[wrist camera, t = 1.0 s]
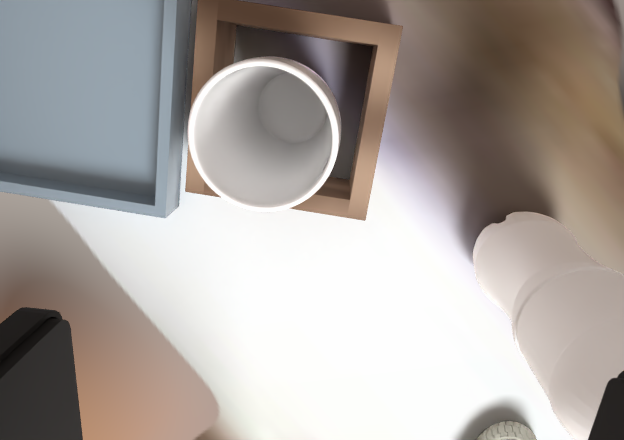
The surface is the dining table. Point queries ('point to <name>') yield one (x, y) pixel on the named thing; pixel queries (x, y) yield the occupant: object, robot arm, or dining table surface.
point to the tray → (94, 101)
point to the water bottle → (556, 311)
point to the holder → (383, 37)
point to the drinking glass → (265, 133)
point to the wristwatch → (507, 432)
